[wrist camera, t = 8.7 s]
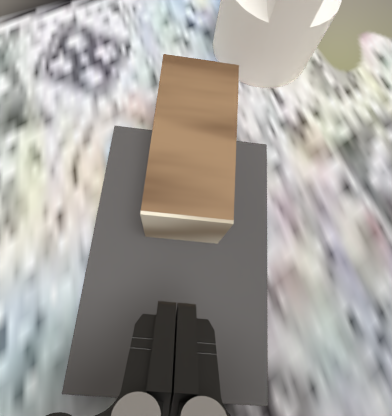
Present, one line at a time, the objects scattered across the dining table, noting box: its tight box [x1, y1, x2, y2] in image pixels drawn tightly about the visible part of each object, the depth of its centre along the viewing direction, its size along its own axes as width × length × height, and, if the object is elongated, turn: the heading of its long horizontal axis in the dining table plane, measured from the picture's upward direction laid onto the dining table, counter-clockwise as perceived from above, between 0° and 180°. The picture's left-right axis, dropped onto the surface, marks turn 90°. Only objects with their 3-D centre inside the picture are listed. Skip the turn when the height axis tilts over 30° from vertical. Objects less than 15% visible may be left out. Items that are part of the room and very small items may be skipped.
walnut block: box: [140, 54, 239, 244], centre depth 20 cm, size 5×5×11 cm
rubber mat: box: [62, 126, 268, 406], centre depth 21 cm, size 18×12×1 cm, turn 176°
